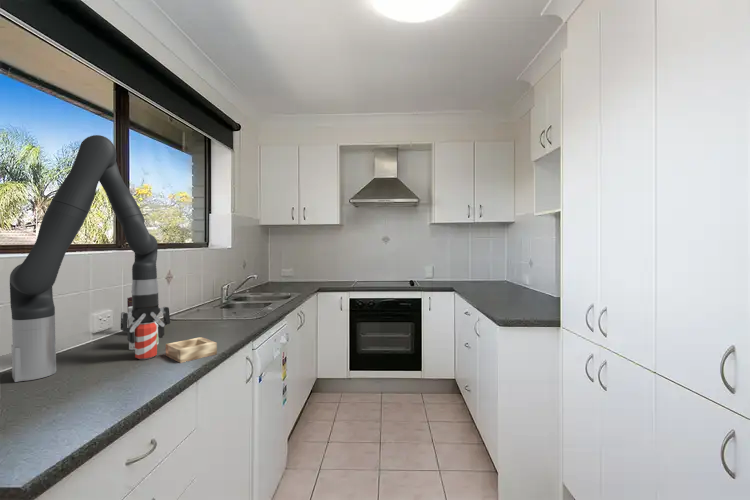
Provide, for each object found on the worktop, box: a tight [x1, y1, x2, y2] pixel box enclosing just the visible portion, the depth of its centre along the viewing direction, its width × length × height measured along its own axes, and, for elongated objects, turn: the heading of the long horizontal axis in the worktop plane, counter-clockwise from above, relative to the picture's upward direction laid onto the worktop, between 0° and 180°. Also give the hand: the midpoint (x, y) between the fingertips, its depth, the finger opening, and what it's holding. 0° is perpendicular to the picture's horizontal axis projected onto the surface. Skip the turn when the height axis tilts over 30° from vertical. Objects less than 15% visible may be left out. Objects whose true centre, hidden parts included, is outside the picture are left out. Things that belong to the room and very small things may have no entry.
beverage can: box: [134, 321, 158, 361], centre depth 124 cm, size 6×6×12 cm
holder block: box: [165, 336, 218, 364], centre depth 127 cm, size 12×12×4 cm
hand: (146, 340), depth 125 cm, fingers open, 8 cm apart
